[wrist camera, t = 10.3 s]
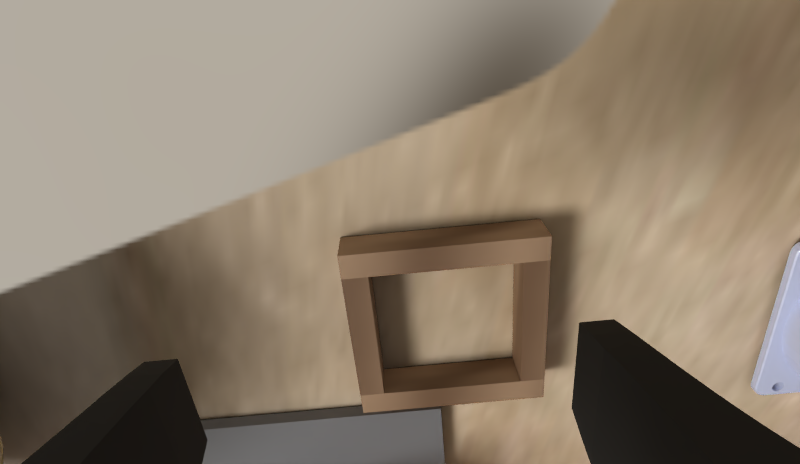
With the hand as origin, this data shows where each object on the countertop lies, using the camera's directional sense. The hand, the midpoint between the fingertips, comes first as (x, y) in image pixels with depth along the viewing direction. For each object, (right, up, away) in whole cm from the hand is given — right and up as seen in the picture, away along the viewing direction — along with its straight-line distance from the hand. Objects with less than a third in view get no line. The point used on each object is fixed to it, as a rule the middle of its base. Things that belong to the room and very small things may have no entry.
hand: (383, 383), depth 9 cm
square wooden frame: (+2, -1, +12) cm, 12 cm away
